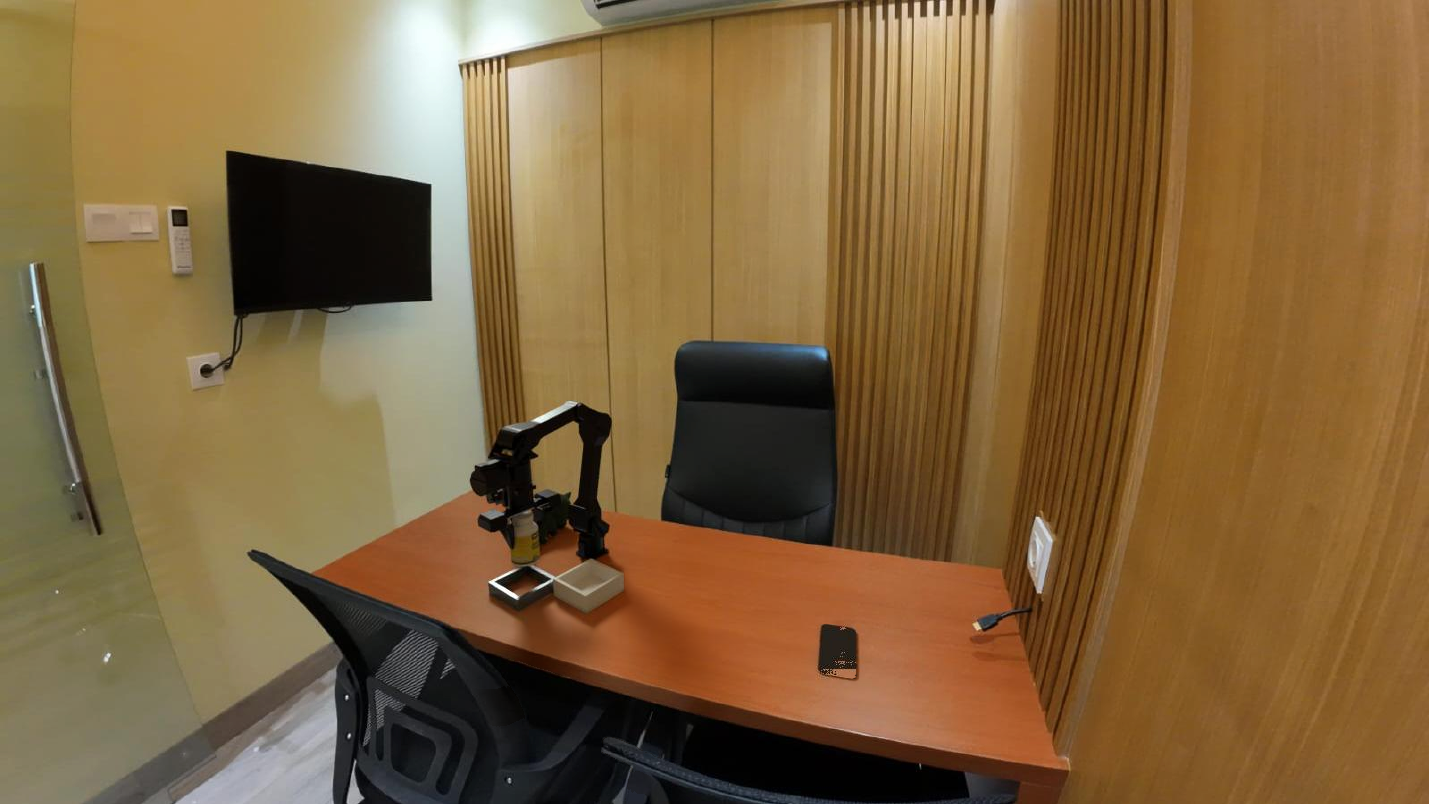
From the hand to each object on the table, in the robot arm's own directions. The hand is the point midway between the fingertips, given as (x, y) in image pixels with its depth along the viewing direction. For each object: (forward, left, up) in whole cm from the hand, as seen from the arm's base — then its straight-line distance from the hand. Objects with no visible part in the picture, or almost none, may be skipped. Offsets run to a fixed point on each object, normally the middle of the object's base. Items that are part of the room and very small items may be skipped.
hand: (524, 542), depth 126 cm
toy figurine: (-19, -20, -13) cm, 31 cm away
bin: (-8, +12, -13) cm, 20 cm away
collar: (+1, -1, -13) cm, 13 cm away
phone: (-25, +68, -13) cm, 74 cm away
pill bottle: (0, 0, -5) cm, 5 cm away
